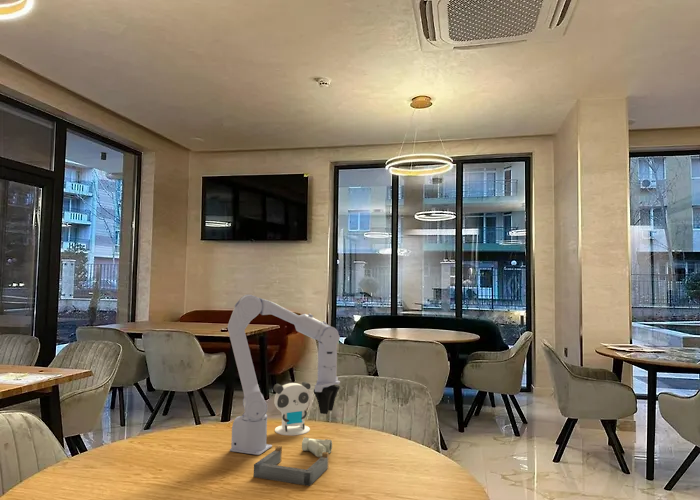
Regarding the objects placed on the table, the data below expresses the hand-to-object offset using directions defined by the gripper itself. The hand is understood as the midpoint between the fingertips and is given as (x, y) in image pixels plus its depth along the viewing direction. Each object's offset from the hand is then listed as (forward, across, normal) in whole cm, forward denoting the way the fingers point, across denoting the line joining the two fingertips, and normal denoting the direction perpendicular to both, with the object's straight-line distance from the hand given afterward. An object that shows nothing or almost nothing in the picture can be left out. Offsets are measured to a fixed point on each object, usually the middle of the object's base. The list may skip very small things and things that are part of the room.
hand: (326, 411), depth 145 cm
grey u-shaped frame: (+9, -23, 0) cm, 25 cm away
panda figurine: (+10, +9, +16) cm, 20 cm away
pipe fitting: (+10, -8, 0) cm, 13 cm away
